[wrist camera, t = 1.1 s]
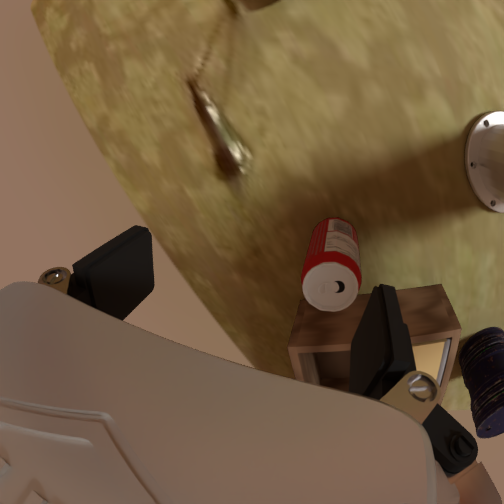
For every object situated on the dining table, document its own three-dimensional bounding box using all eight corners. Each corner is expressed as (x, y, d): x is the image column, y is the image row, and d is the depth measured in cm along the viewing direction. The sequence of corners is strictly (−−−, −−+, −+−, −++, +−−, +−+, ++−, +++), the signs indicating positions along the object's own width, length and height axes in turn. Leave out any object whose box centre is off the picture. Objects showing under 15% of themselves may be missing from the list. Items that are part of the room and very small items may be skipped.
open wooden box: (441, 283, 32) (461, 328, 24) (429, 369, 38) (437, 414, 30) (300, 300, 39) (287, 346, 31) (316, 380, 45) (307, 424, 37)
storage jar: (500, 315, 30) (534, 385, 17) (509, 349, 31) (534, 413, 19) (451, 348, 35) (470, 424, 22) (465, 377, 36) (480, 445, 23)
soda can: (314, 258, 36) (300, 316, 26) (310, 217, 34) (295, 262, 24) (357, 257, 34) (360, 316, 24) (356, 215, 32) (362, 260, 22)
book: (449, 334, 25) (452, 340, 24) (432, 404, 30) (433, 411, 29) (362, 345, 29) (362, 353, 28) (363, 412, 34) (362, 419, 33)
